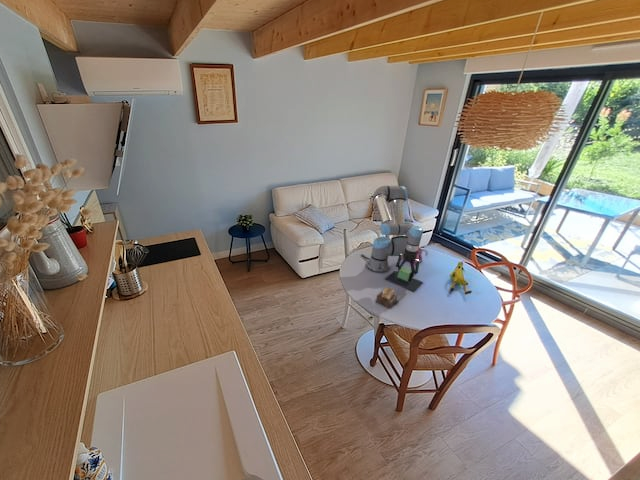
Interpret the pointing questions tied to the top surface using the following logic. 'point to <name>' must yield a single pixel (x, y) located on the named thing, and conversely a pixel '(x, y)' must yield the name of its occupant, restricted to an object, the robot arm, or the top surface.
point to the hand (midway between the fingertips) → (404, 278)
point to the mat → (404, 282)
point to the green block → (404, 273)
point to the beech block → (387, 293)
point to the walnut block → (386, 300)
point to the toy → (419, 253)
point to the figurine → (459, 278)
